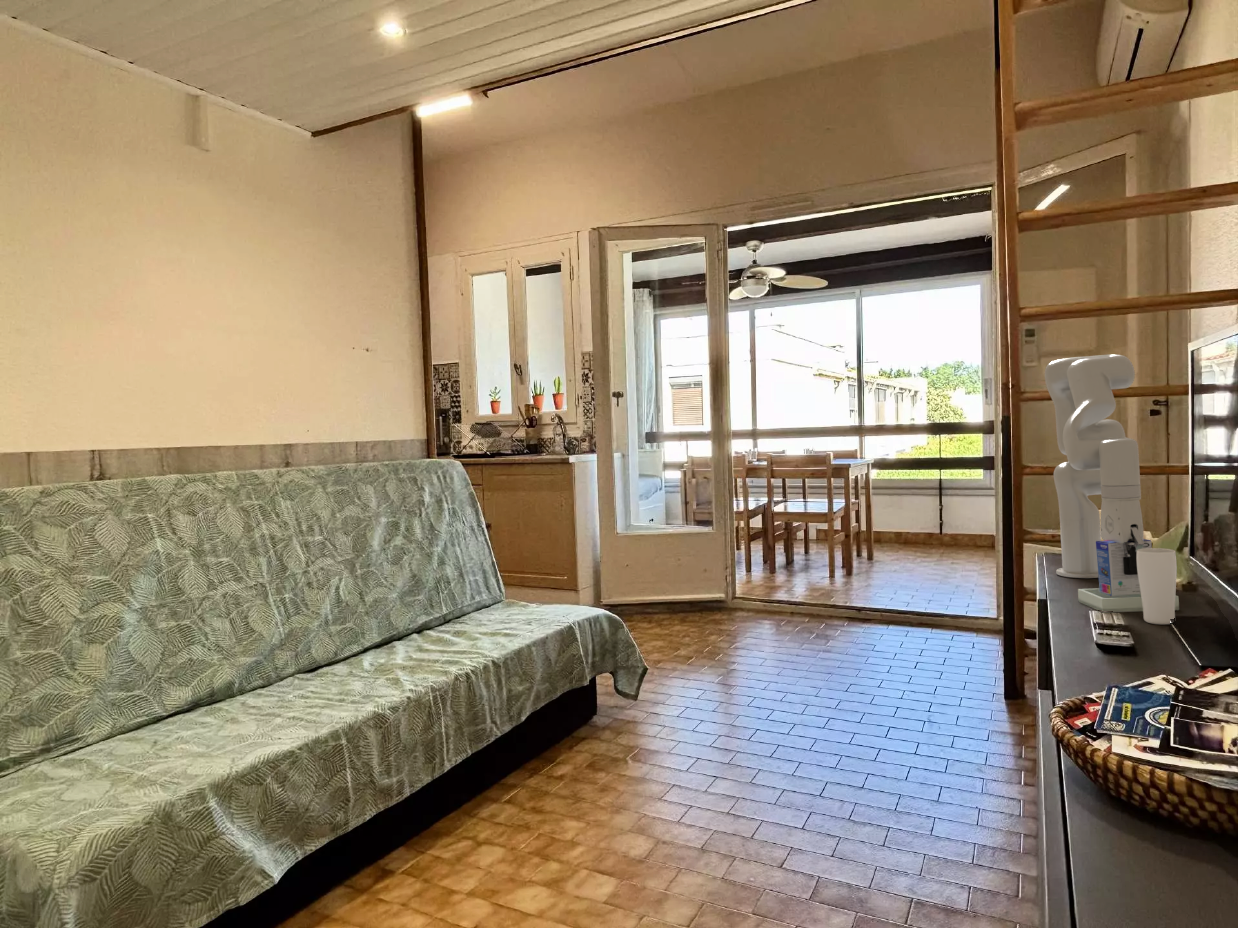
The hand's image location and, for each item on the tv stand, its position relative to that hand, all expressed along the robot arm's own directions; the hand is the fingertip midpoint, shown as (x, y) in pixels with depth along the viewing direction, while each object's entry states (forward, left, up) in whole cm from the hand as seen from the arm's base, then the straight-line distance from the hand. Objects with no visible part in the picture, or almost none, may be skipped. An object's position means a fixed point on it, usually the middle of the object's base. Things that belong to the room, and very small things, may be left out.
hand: (1125, 571), depth 174 cm
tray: (0, 0, -8) cm, 8 cm away
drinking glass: (+16, -1, -8) cm, 18 cm away
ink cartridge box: (0, 0, -5) cm, 5 cm away
